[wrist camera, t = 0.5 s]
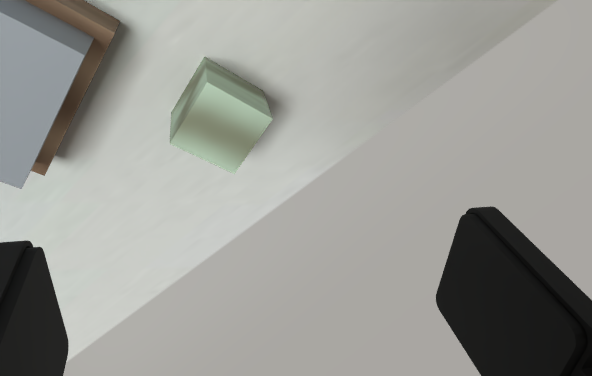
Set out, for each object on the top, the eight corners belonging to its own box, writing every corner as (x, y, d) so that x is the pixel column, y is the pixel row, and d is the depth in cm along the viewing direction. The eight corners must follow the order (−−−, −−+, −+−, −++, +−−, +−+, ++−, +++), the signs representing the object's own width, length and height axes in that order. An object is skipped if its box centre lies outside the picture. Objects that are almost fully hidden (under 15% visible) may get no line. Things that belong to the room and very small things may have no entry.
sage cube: (204, 56, 39) (207, 82, 34) (262, 90, 42) (272, 118, 37) (171, 112, 42) (169, 143, 37) (228, 141, 44) (234, 174, 39)
